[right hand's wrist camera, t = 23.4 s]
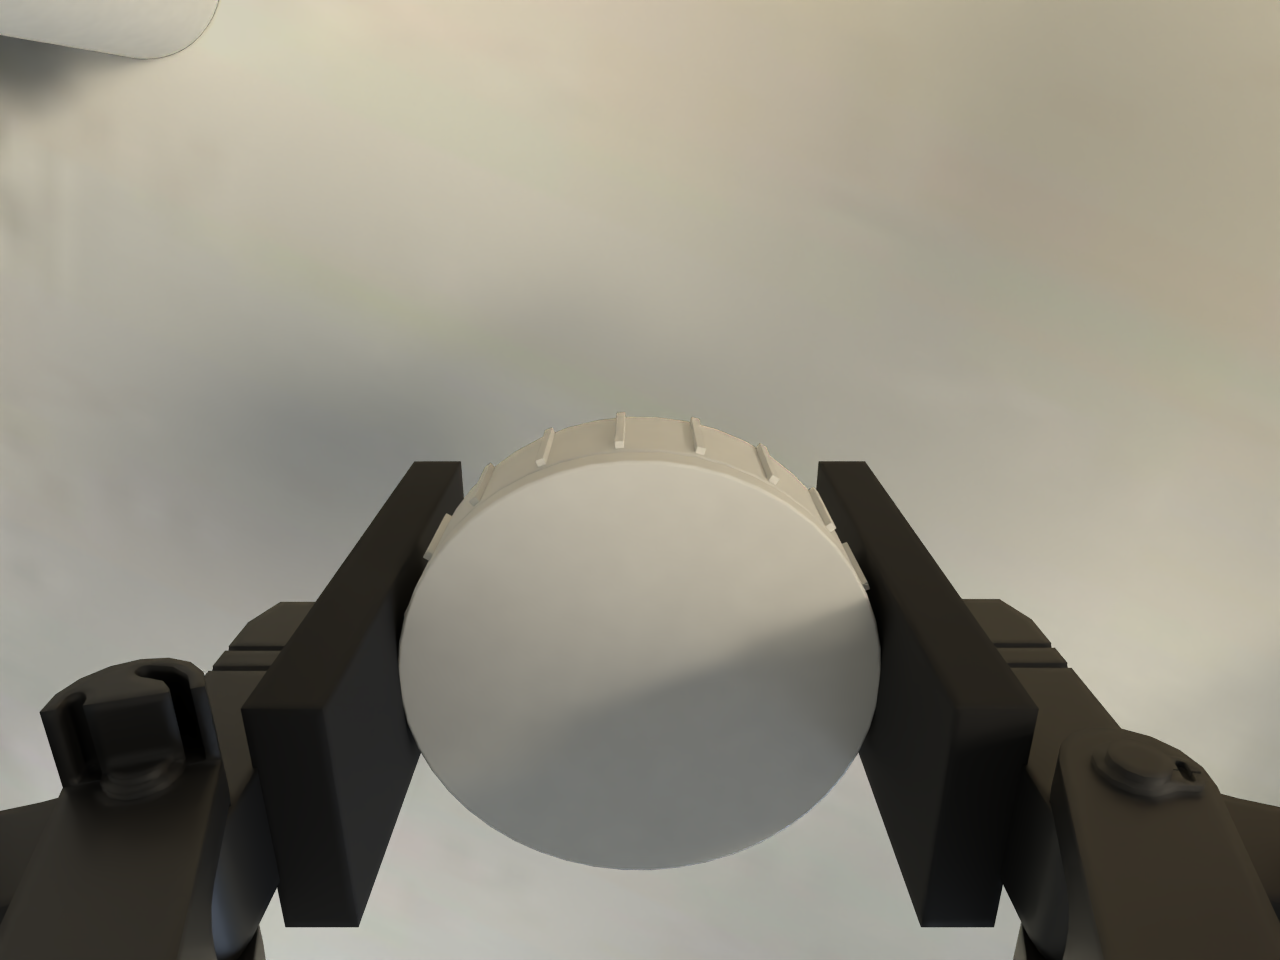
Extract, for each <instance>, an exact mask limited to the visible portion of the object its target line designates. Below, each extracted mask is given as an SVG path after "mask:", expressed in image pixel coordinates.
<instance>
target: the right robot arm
mask: <svg viewBox="0 0 1280 960" xmlns="http://www.w3.org/2000/svg"><path fill="white" fill-rule="evenodd" d="M816 490H817V491H818V493H819V495H820V497H821V499H822V501H823V503H824V505H825V507H826V509H827V511H828V513H829V515H830V517H831V519H832V521H833V523H834V525H835V526H836V529H835V532H836V534H837V536H838V538H839V540H840V542H841V544H843V543H846V542H847V543H848V545H849V547H850V549H851V551H852V553H853V555H854V557H855V559H856V561H857V563H858V564H859V566H860V568H861V570H862V572H863V574H864V576H865V578H866V580H867V582H868V584H869V587H870V589H869V590H866V593H867V596H868V599H869V602H870V604H871V607H872V610H873V613H874V616H875V619H876V623H877V629H878V635H879V640H880V646H881V670H880V679H879V687H878V695H877V703H876V708H875V712H874V715H873V718H872V722H871V725H870V728H869V731H868V733H867V735H866V737H865V739H864V741H863V744H862V746H861V748H860V750H859V755H860V758H861V761H862V763H863V766H864V769H865V772H866V775H867V777H868V780H869V783H870V786H871V789H872V791H873V794H874V797H875V800H876V803H877V805H878V808H879V811H880V814H881V817H882V819H883V822H884V825H885V828H886V831H887V833H888V836H889V839H890V842H891V844H892V847H893V850H894V853H895V856H896V858H897V861H898V864H899V867H900V870H901V872H902V875H903V878H904V881H905V884H906V886H907V889H908V892H909V895H910V898H911V900H912V903H913V906H914V909H915V912H916V914H917V917H918V920H919V923H920V926H921V927H994V925H995V920H996V915H997V910H998V905H999V900H1000V896H1001V891H1002V886H1003V885H1004V887H1005V889H1006V891H1007V893H1008V895H1009V897H1010V899H1011V901H1012V904H1013V906H1014V908H1015V910H1016V912H1017V914H1018V916H1019V918H1020V920H1021V926H1020V931H1019V935H1018V940H1017V944H1016V949H1015V953H1014V958H1013V960H1280V807H1276V806H1271V805H1267V804H1262V803H1257V802H1252V801H1248V800H1243V799H1238V798H1234V797H1231V796H1227V795H1223V794H1220V791H1219V789H1218V787H1217V786H1216V784H1215V783H1214V782H1213V780H1212V779H1211V778H1210V776H1209V775H1208V774H1207V772H1206V771H1205V770H1204V768H1203V767H1202V766H1200V765H1199V764H1198V763H1196V762H1195V761H1194V760H1192V759H1191V758H1189V757H1188V756H1187V755H1185V754H1184V753H1183V752H1181V751H1180V750H1178V749H1176V748H1174V747H1172V746H1170V745H1168V744H1166V743H1163V742H1161V741H1159V740H1157V739H1155V738H1153V737H1150V736H1147V735H1143V734H1139V733H1135V732H1132V731H1128V730H1124V729H1121V728H1120V727H1119V725H1118V724H1117V723H1116V722H1115V720H1114V719H1113V718H1112V717H1111V716H1110V714H1109V713H1108V712H1107V711H1106V710H1105V708H1104V707H1103V706H1102V705H1101V703H1100V702H1099V701H1098V700H1097V699H1096V697H1095V696H1094V695H1093V694H1092V692H1091V691H1090V690H1089V689H1088V688H1087V686H1086V685H1085V684H1084V683H1083V681H1082V680H1081V679H1080V678H1079V677H1078V675H1077V674H1076V673H1075V672H1074V670H1073V669H1072V668H1068V667H1067V662H1066V661H1065V659H1064V658H1063V657H1062V656H1061V655H1060V653H1059V652H1058V651H1057V650H1056V649H1055V648H1051V642H1050V641H1049V640H1048V639H1047V638H1046V636H1045V635H1044V634H1043V633H1042V631H1041V630H1040V629H1039V628H1038V627H1037V625H1036V624H1035V623H1034V622H1033V620H1032V619H1030V618H1029V617H1027V616H1025V615H1024V614H1022V613H1021V612H1019V611H1017V610H1016V609H1014V608H1013V607H1011V606H1009V605H1008V604H1006V603H1005V602H1003V601H1001V600H1000V599H961V597H960V596H959V594H958V593H957V592H956V590H955V589H954V587H953V586H952V584H951V583H950V582H949V580H948V579H947V577H946V576H945V574H944V573H943V572H942V570H941V569H940V567H939V566H938V565H937V563H936V562H935V560H934V559H933V557H932V556H931V555H930V553H929V552H928V550H927V549H926V547H925V546H924V545H923V543H922V542H921V540H920V539H919V538H918V536H917V535H916V533H915V532H914V530H913V529H912V528H911V526H910V525H909V523H908V522H907V520H906V519H905V518H904V516H903V515H902V513H901V512H900V511H899V509H898V508H897V506H896V505H895V503H894V502H893V501H892V499H891V498H890V496H889V495H888V493H887V492H886V491H885V489H884V488H883V486H882V485H881V484H880V482H879V481H878V479H877V478H876V476H875V475H874V474H873V472H872V471H871V469H870V468H869V466H868V465H867V464H866V462H865V461H819V463H818V475H817V488H816ZM463 499H464V494H463V482H462V470H461V461H414V463H413V464H412V466H411V467H410V469H409V470H408V471H407V473H406V474H405V476H404V477H403V478H402V480H401V481H400V483H399V484H398V486H397V487H396V488H395V490H394V491H393V493H392V494H391V496H390V497H389V498H388V500H387V501H386V503H385V504H384V505H383V507H382V508H381V510H380V511H379V513H378V514H377V515H376V517H375V518H374V520H373V521H372V523H371V524H370V525H369V527H368V528H367V530H366V531H365V532H364V534H363V535H362V537H361V538H360V540H359V541H358V542H357V544H356V545H355V547H354V548H353V550H352V551H351V552H350V554H349V555H348V557H347V558H346V559H345V561H344V562H343V564H342V565H341V567H340V568H339V569H338V571H337V572H336V574H335V575H334V577H333V578H332V579H331V581H330V582H329V584H328V585H327V586H326V588H325V589H324V591H323V592H322V594H321V595H320V596H319V598H318V599H317V601H316V602H280V603H278V604H276V605H275V606H273V607H272V608H270V609H269V610H267V611H265V612H264V613H262V614H261V615H259V616H258V617H256V618H254V619H253V620H251V621H250V622H248V623H247V625H246V626H245V627H244V628H243V629H242V631H241V632H240V633H239V634H238V636H237V637H236V638H235V639H234V640H233V642H232V643H231V644H230V645H229V651H225V652H224V653H223V654H222V655H221V656H220V658H219V659H218V660H217V661H216V663H215V664H214V665H213V670H212V671H208V672H207V674H206V675H205V676H204V673H203V671H202V670H200V669H199V668H198V667H196V666H195V665H194V664H192V663H191V662H187V661H182V660H177V659H172V658H156V659H140V660H136V661H131V662H127V663H123V664H119V665H114V666H110V667H108V668H105V669H103V670H100V671H98V672H95V673H93V674H91V675H88V676H86V677H83V678H81V679H79V680H77V681H76V682H74V683H73V684H71V685H70V686H68V687H66V688H65V689H63V690H62V691H60V692H59V693H57V694H56V695H55V696H54V697H53V698H52V699H51V700H50V701H49V702H48V703H47V705H46V706H45V707H44V708H43V709H42V710H41V711H40V715H41V718H42V722H43V725H44V728H45V731H46V735H47V738H48V741H49V744H50V747H51V751H52V754H53V757H54V760H55V764H56V767H57V770H58V773H59V776H60V780H61V783H62V786H63V789H62V791H61V793H60V795H59V797H58V798H56V799H52V800H48V801H45V802H41V803H36V804H31V805H26V806H22V807H17V808H12V809H8V810H3V811H0V960H266V959H265V952H264V945H263V940H262V935H261V931H260V926H259V923H260V921H261V919H262V917H263V915H264V913H265V911H266V909H267V907H268V905H269V903H270V901H271V899H272V897H273V894H274V892H275V890H276V888H277V889H278V893H279V898H280V903H281V908H282V913H283V918H284V923H285V927H359V924H360V921H361V918H362V916H363V913H364V910H365V907H366V904H367V902H368V899H369V896H370V893H371V891H372V888H373V885H374V882H375V879H376V877H377V874H378V871H379V868H380V865H381V863H382V860H383V857H384V854H385V851H386V849H387V846H388V843H389V840H390V837H391V835H392V832H393V829H394V826H395V823H396V821H397V818H398V815H399V812H400V809H401V807H402V804H403V801H404V798H405V795H406V793H407V790H408V787H409V784H410V782H411V779H412V776H413V773H414V770H415V768H416V765H417V762H418V759H419V756H420V754H421V751H420V750H419V748H418V746H417V744H416V741H415V739H414V737H413V734H412V732H411V730H410V727H409V725H408V723H407V719H406V715H405V711H404V707H403V701H402V693H401V685H400V676H399V667H398V652H399V640H400V635H401V630H402V625H403V621H404V613H405V611H406V609H407V607H408V605H409V602H410V600H411V597H412V594H413V592H414V589H415V587H416V585H417V583H418V581H419V579H420V577H421V575H422V573H423V571H424V569H425V567H426V565H427V563H428V561H429V560H427V559H425V558H423V556H424V554H425V552H426V551H427V549H428V547H429V545H430V543H431V541H432V539H433V537H434V535H435V533H436V531H437V529H438V527H439V526H440V524H441V522H442V520H443V518H444V516H445V515H446V513H447V514H449V515H451V516H452V515H453V514H454V512H455V510H456V508H457V507H458V506H459V505H460V503H461V502H462V501H463Z"/></svg>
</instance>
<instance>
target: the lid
mask: <svg viewBox="0 0 1280 960" xmlns="http://www.w3.org/2000/svg"><path fill="white" fill-rule="evenodd" d="M835 529H836V526H835V525H834V523H833V521H832V519H831V517H830V515H829V513H828V511H827V509H826V507H825V505H824V503H823V501H822V499H821V497H820V495H819V493H818V491H817V490H816V489H815V488H814V487H812V488H811V489H810V490H808V489H807V488H806V487H805V486H804V485H803V484H802V483H801V482H800V481H799V480H798V479H797V478H796V477H795V476H794V475H793V474H792V473H791V472H790V471H789V470H788V469H786V468H785V467H784V466H782V465H781V464H780V463H778V462H777V461H776V460H775V459H773V458H772V457H771V456H770V455H769V452H768V450H767V447H766V446H764V445H762V444H761V443H760V444H759V445H758V446H757V448H756V447H754V446H752V445H751V444H749V443H747V442H746V441H744V440H741V439H739V438H736V437H734V436H732V435H729V434H727V433H724V432H722V431H720V430H717V429H714V428H710V427H706V426H703V425H701V424H700V419H698V418H693V417H692V418H691V420H690V422H688V421H681V420H674V419H667V418H659V417H626V416H625V412H619V413H617V415H616V418H613V419H604V420H597V421H592V422H588V423H584V424H580V425H576V426H572V427H568V428H565V429H563V430H560V431H558V432H554V430H553V428H550V429H547V430H545V432H544V435H543V437H542V438H540V439H538V440H536V441H534V442H532V443H531V444H529V445H527V446H525V447H523V448H521V449H519V450H518V451H516V452H514V453H513V454H512V455H510V456H509V457H507V458H506V459H505V460H503V461H502V462H501V463H499V464H498V465H497V466H495V467H494V466H493V465H492V464H491V463H490V464H488V465H487V466H486V467H485V468H484V471H483V473H482V475H481V477H480V479H479V481H478V483H477V484H476V485H475V486H474V487H473V488H472V489H471V490H470V492H469V493H468V494H467V496H466V497H465V498H464V499H463V501H462V502H461V503H460V505H459V506H458V507H457V508H456V510H455V512H454V514H453V515H452V516H451V515H449V514H447V513H446V515H445V516H444V518H443V520H442V522H441V524H440V526H439V527H438V529H437V531H436V533H435V535H434V537H433V539H432V541H431V543H430V545H429V547H428V549H427V551H426V552H425V554H424V556H423V558H425V559H427V560H429V561H428V563H427V565H426V567H425V569H424V571H423V573H422V575H421V577H420V579H419V581H418V583H417V585H416V587H415V589H414V592H413V594H412V597H411V600H410V602H409V605H408V607H407V609H406V611H405V613H404V621H403V625H402V630H401V635H400V640H399V652H398V667H399V676H400V685H401V693H402V701H403V707H404V711H405V715H406V719H407V723H408V725H409V727H410V730H411V732H412V734H413V737H414V739H415V741H416V744H417V746H418V748H419V750H420V751H421V753H422V755H423V756H424V758H425V760H426V761H427V763H428V765H429V766H430V768H431V770H432V771H433V772H434V774H435V775H436V776H437V777H438V778H439V780H440V781H441V782H442V783H443V785H444V786H445V787H446V788H447V790H448V791H449V792H450V793H451V794H452V795H453V796H454V797H455V798H456V799H457V800H458V801H459V802H460V803H462V804H463V805H464V806H465V807H466V808H467V809H468V810H469V811H470V812H472V813H473V814H474V815H476V816H477V817H478V818H480V819H481V820H482V821H484V822H485V823H486V824H488V825H489V826H490V827H492V828H494V829H495V830H497V831H499V832H500V833H502V834H504V835H506V836H507V837H509V838H511V839H512V840H514V841H516V842H519V843H521V844H523V845H525V846H528V847H530V848H532V849H534V850H536V851H539V852H541V853H545V854H548V855H551V856H554V857H557V858H560V859H563V860H566V861H571V862H575V863H580V864H585V865H589V866H594V867H603V868H612V869H621V870H656V869H667V868H678V867H684V866H689V865H694V864H699V863H705V862H709V861H712V860H715V859H719V858H722V857H725V856H729V855H732V854H735V853H737V852H740V851H742V850H744V849H747V848H749V847H752V846H754V845H756V844H759V843H761V842H763V841H764V840H766V839H768V838H770V837H772V836H773V835H775V834H777V833H779V832H781V831H782V830H784V829H786V828H787V827H788V826H790V825H791V824H793V823H794V822H795V821H797V820H798V819H800V818H801V817H802V816H804V815H805V814H806V813H808V812H809V811H810V810H811V809H812V808H813V807H814V806H815V805H816V804H817V803H819V802H820V801H821V800H822V799H823V798H824V797H825V796H826V795H827V794H828V793H829V792H830V791H831V789H832V788H833V787H834V786H835V785H836V783H837V782H838V781H839V780H840V779H841V778H842V776H843V775H844V774H845V772H846V771H847V769H848V768H849V766H850V765H851V763H852V761H853V760H854V758H855V757H856V755H857V754H858V752H859V750H860V748H861V746H862V744H863V741H864V739H865V737H866V735H867V733H868V731H869V728H870V725H871V722H872V718H873V715H874V712H875V708H876V703H877V695H878V687H879V679H880V670H881V646H880V640H879V635H878V629H877V623H876V619H875V616H874V613H873V610H872V607H871V604H870V602H869V599H868V596H867V593H866V590H869V589H870V587H869V584H868V582H867V580H866V578H865V576H864V574H863V572H862V570H861V568H860V566H859V564H858V563H857V561H856V559H855V557H854V555H853V553H852V551H851V549H850V547H849V545H848V543H847V542H846V543H843V544H841V542H840V540H839V538H838V536H837V534H836V532H835Z"/></svg>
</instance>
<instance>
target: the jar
mask: <svg viewBox="0 0 1280 960" xmlns="http://www.w3.org/2000/svg"><path fill="white" fill-rule="evenodd" d="M217 4H218V0H0V35H3V36H9V37H15V38H21V39H27V40H32V41H38V42H44V43H50V44H56V45H61V46H67V47H73V48H79V49H85V50H90V51H96V52H102V53H108V54H114V55H119V56H125V57H131V58H137V59H153V58H161V57H165V56H168V55H172V54H174V53H176V52H178V51H181V50H183V49H184V48H185V47H187V46H188V45H190V44H191V43H193V42H194V41H195V40H196V39H197V38H198V37H199V36H200V35H201V33H202V32H203V31H204V30H205V28H206V27H207V26H208V24H209V22H210V20H211V19H212V17H213V15H214V12H215V9H216V7H217Z"/></svg>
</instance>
